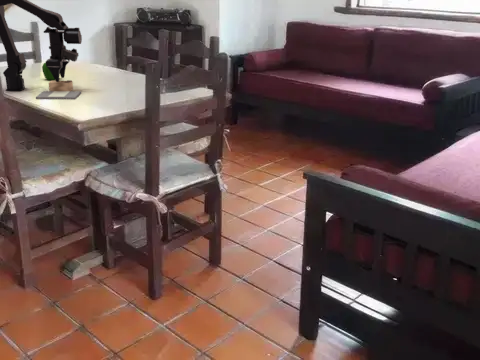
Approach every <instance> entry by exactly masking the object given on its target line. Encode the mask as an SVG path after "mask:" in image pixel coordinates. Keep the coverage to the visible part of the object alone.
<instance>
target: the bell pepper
mask: <svg viewBox="0 0 480 360" xmlns="http://www.w3.org/2000/svg"><path fill="white" fill-rule="evenodd" d="M41 68H42V73H43V76H44V78H45V79H46V80H48V81H56V80H55V79H54V77H53V75H52V74H51V72H50V70H49V69H48V68H47V66H46V62H44V63H42V66H41ZM59 77H61V75H60V74H59Z"/></svg>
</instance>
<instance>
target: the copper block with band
mask: <svg viewBox="0 0 480 360" xmlns="http://www.w3.org/2000/svg"><path fill="white" fill-rule="evenodd" d="M73 84H74V83H73V80H71V79H68V80H59V82H56V80H49V81H48V89H49V90H48V91H74V86H73Z"/></svg>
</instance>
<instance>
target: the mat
mask: <svg viewBox="0 0 480 360" xmlns="http://www.w3.org/2000/svg"><path fill="white" fill-rule="evenodd" d="M81 94H82V91H81V90H80V91H79V90H75V91H74V90H72V91H49V90H44V91H42V92H41V93H39V94H38V95H36V96H35V99H36V100H77V98H78V97H79V96H81Z"/></svg>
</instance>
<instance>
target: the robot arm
mask: <svg viewBox="0 0 480 360" xmlns="http://www.w3.org/2000/svg"><path fill="white" fill-rule="evenodd" d="M10 4H13V5H14V6H16V7H18V8H20V9H21V10H24V11H25V12H28V13H30V14H32V15H33V16H35V17H37V18H38V19H39V20H41V21H42V23H43V24H45V25H47V27H46V29H44V30H43V33H45V34H48V38H49V46H48V49H49V50H50V56H49V58H48V59H46V61H45V63H46V66H47V68H48V69H49V70H50V72H51V74H52V75H53V77H54V79H55V80H54V81H56V82H59V81H60V77H61V79H65V76H66V75H65V74H66V68H67V66H68V64H69V63H70V62H74V63H75V62H77V60H78V57H79V52H78V50H77V49H76V48H72V49H67V46H66V45H65V43H66V44H67V45H81V44H82V42H83V41H82V40H83V37H82V36H83V35H82V33H81V30H80V27H69V26H68V25H67V24H66V22H64V19H63V16H62V15H61V14H60V13H58V12H56V11H52V10H49V9H45V8H42V7H41V6H39V5H37V4H36V3H33V2H31V1H30V0H0V40H1V42H2V45H3V47H4V50H5V53H6V64H7V67H6V69H5V70H4V71H3V73H2V74H3V77H5V84H6V89H5V91H7V92H10V91H11V92H13V91H14V92H17V91H18V92H20V91H23V90H24V89H26V87H25V78H23V71H24V70H25V69H26V67H27V63H28V61H27V60H26V58H25V55H24V52H21V53H20V52H19V50H18V49H17V47H16V44H15V41H14V39H13V36H12V34H11V31H10V28H9V26H8V22H7V20H6V17H5V6H8V5H10ZM64 42H65V43H64ZM59 74H60V76H59Z"/></svg>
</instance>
